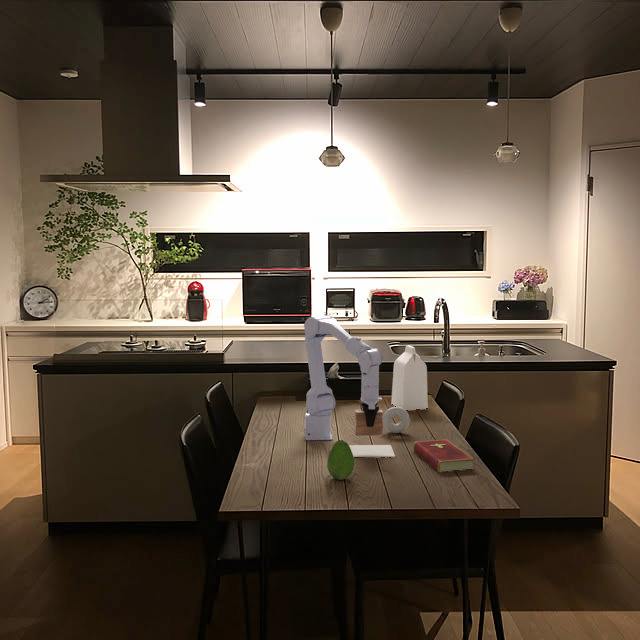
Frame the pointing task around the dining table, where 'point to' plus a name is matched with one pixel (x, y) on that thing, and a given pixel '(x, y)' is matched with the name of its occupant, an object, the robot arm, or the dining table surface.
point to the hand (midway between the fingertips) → (369, 424)
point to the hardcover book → (443, 455)
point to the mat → (372, 451)
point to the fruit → (340, 460)
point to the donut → (402, 424)
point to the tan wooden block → (361, 424)
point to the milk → (409, 381)
